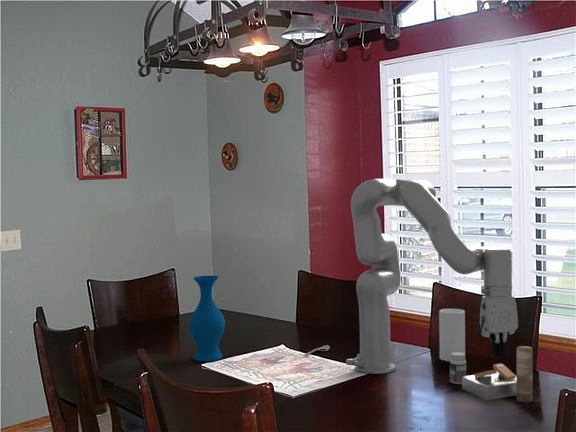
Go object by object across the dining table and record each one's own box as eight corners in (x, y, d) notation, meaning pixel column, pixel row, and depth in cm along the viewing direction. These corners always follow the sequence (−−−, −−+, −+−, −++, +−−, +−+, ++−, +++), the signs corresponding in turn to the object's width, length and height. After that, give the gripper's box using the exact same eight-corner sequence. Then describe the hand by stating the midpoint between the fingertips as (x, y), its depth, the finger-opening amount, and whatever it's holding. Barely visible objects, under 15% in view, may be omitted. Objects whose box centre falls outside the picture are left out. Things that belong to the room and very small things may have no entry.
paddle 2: (506, 379, 183) (507, 376, 182) (492, 367, 188) (493, 364, 187) (515, 378, 184) (515, 375, 183) (501, 366, 189) (502, 363, 188)
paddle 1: (487, 374, 180) (486, 370, 181) (475, 377, 186) (474, 373, 186) (496, 373, 182) (495, 369, 182) (484, 376, 187) (483, 372, 187)
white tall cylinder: (465, 362, 215) (465, 313, 215) (440, 361, 217) (439, 312, 216) (464, 355, 223) (463, 308, 223) (439, 355, 225) (438, 308, 224)
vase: (232, 355, 230) (230, 275, 229) (213, 365, 218) (211, 280, 217) (202, 352, 235) (200, 274, 234) (182, 361, 223) (180, 279, 222)
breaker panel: (487, 400, 177) (487, 383, 177) (462, 388, 187) (461, 373, 187) (528, 393, 182) (528, 377, 182) (502, 382, 193) (502, 367, 192)
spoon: (333, 350, 236) (333, 345, 236) (296, 362, 221) (296, 357, 220) (323, 348, 239) (323, 344, 239) (287, 360, 223) (287, 356, 223)
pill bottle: (447, 379, 196) (447, 351, 196) (463, 379, 197) (462, 351, 196) (452, 384, 192) (452, 356, 191) (468, 383, 192) (468, 355, 192)
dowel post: (523, 403, 174) (523, 350, 174) (513, 398, 178) (513, 347, 177) (535, 401, 176) (535, 348, 175) (525, 396, 179) (525, 345, 179)
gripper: (484, 295, 181) (485, 362, 181) (528, 291, 186) (528, 355, 187) (467, 291, 188) (468, 355, 188) (510, 287, 193) (510, 350, 194)
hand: (498, 355), depth 188 cm, fingers closed
